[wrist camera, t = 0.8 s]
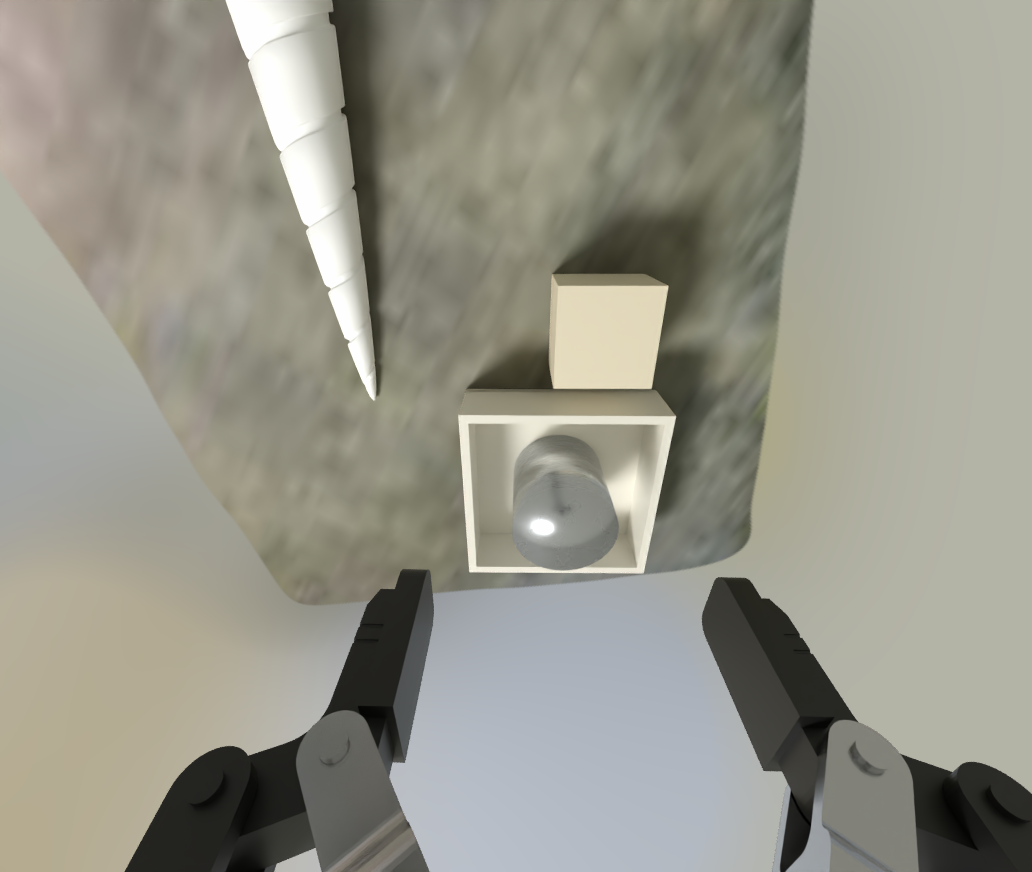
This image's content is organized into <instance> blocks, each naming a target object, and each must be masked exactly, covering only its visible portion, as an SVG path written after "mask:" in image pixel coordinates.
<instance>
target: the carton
mask: <svg viewBox="0 0 1032 872" xmlns="http://www.w3.org/2000/svg"><path fill="white" fill-rule="evenodd" d="M667 292H668V285H666V284H664V283H662V282H660V281H658V280H656V279H654V278H652V277H650V276H648V275H646V274H552V286H551V312H550V339H549V368H550V373H551V379H552V384H553V389H652V383H653V377H654V371H655V365H656V359H657V353H658V347H659V341H660V335H661V329H662V323H663V317H664V311H665V304H666V298H667Z"/></svg>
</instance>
